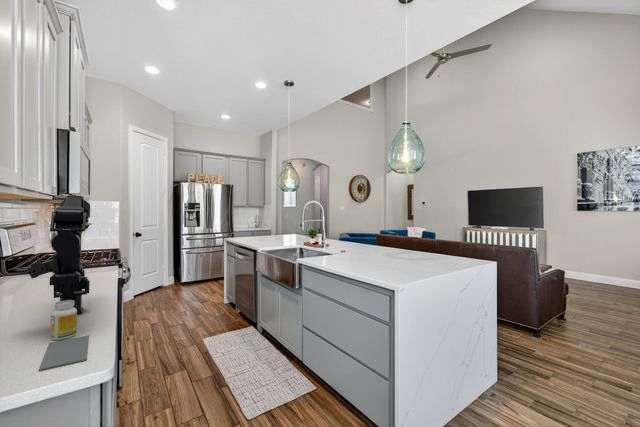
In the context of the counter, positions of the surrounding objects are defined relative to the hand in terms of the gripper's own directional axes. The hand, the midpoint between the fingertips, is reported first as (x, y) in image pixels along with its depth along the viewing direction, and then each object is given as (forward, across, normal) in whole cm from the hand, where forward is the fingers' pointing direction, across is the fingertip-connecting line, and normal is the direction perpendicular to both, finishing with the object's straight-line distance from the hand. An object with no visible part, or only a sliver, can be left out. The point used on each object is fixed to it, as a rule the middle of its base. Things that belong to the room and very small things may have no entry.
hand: (66, 302), depth 85 cm
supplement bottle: (+8, +7, 0) cm, 11 cm away
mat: (+8, +19, +2) cm, 21 cm away
